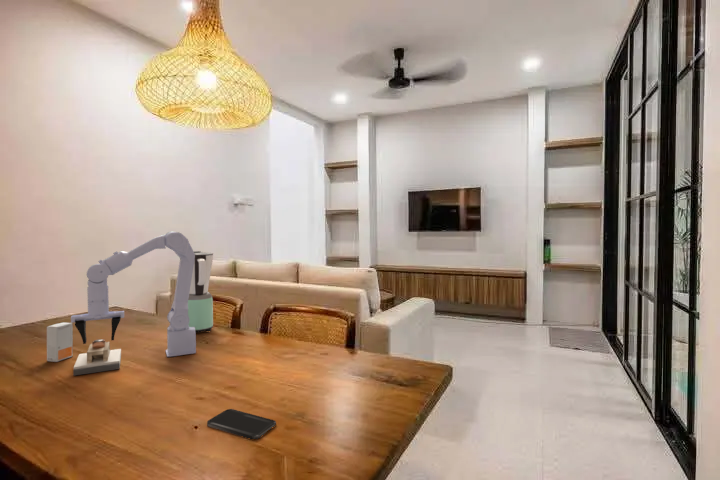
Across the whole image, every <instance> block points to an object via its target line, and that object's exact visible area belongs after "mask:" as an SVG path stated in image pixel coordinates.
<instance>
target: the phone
mask: <svg viewBox="0 0 720 480" xmlns="http://www.w3.org/2000/svg"><path fill="white" fill-rule="evenodd" d="M206 424H207V427H210V428H213V429H215V430H218V429H219V431H221V432H225V433H228V434H232V435H235V436H238V437H241V436H243V437H242V438H245V437H246V439H248V438H250V439H249V440H251V439H257V440H259V439H261V438H262V437H263V436H265V435H266V434H267V433H268V432H267V431H268V430H270V429H271V428H272V427H274V426H275V425H276V426H277V421H276V420H274V419H271V418H267V417H263V416H259V415H255V414H252V413H250V412H249V413H247V412H244V411H243V410H242V411H240V410H237V409H234V408H229V409H225V410H224V411H222V412H220V413H219V414H216V415H215V416H213V417H211V418H210V419H208V420H207V422H206ZM276 426H275V427H276ZM275 427H274V428H275ZM271 430H272V429H271ZM271 430H270V431H271ZM266 432H267V433H266ZM265 433H266V434H265ZM264 434H265V435H264ZM262 435H263V436H262ZM261 436H262V437H261ZM260 437H261V438H260ZM258 438H259V439H258Z"/></svg>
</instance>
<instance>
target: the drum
mask: <svg viewBox="0 0 720 480" xmlns="http://www.w3.org/2000/svg"><path fill="white" fill-rule="evenodd" d="M105 342H106V340H105V339H102V338H100V339H95V340H93V341H92V342H91V344H92V348H94V349H98V348H103V347H105Z"/></svg>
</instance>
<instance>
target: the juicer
mask: <svg viewBox="0 0 720 480" xmlns="http://www.w3.org/2000/svg"><path fill="white" fill-rule="evenodd" d="M193 251H194V253H195V260H194V266H193V273H192V279H191V286H190V292H189V299H188V316H189V320H190V321H189V324H188V325H189V327H195V332H196V333H204V332H206V331H212V328H213V327H214V304H213V303H214V299H213V295H212V294H211V293H210V292H209V285H210V280H211V279H210V278H211V273H212V266H213V259H214V253H212V252H203V251H201V250H196V251H195V250H193Z"/></svg>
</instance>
